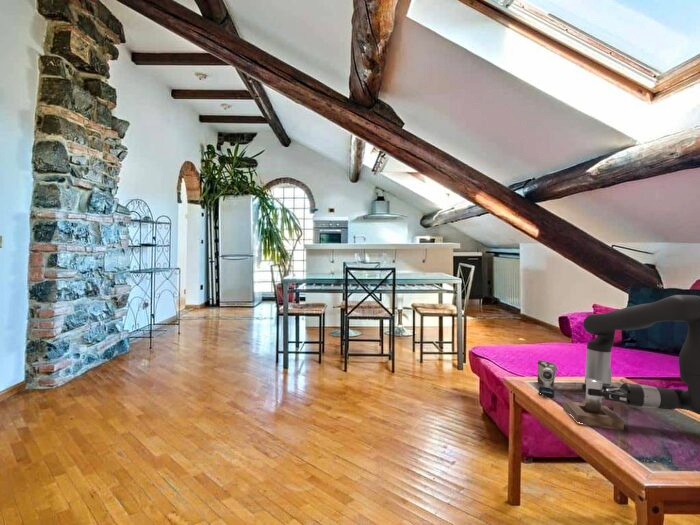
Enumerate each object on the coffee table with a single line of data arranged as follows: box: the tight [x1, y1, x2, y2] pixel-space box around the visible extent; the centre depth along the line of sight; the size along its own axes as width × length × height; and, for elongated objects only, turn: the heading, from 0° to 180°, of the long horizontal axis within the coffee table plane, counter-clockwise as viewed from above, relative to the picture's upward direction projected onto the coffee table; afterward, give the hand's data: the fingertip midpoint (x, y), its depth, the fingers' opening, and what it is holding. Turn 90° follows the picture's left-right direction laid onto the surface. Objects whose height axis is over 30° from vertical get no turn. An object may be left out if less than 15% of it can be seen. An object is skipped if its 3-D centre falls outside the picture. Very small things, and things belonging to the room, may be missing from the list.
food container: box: [536, 359, 558, 387], centre depth 169 cm, size 12×6×10 cm, turn 171°
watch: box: [538, 367, 556, 398], centre depth 157 cm, size 6×8×11 cm
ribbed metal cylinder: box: [584, 378, 603, 411], centre depth 133 cm, size 5×5×10 cm
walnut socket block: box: [563, 400, 625, 431], centre depth 133 cm, size 14×14×4 cm
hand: (585, 389), depth 134 cm, fingers closed on ribbed metal cylinder, 4 cm apart
